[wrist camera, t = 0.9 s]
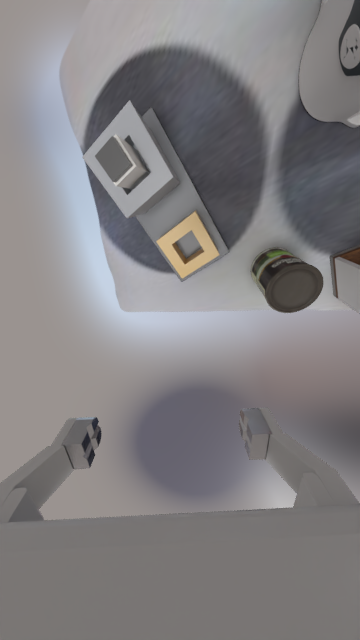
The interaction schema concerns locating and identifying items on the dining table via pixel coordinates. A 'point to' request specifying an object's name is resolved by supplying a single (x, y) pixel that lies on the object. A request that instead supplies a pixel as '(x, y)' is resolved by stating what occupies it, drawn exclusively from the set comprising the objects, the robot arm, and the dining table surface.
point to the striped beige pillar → (347, 276)
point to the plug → (122, 163)
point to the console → (161, 195)
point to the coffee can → (286, 280)
